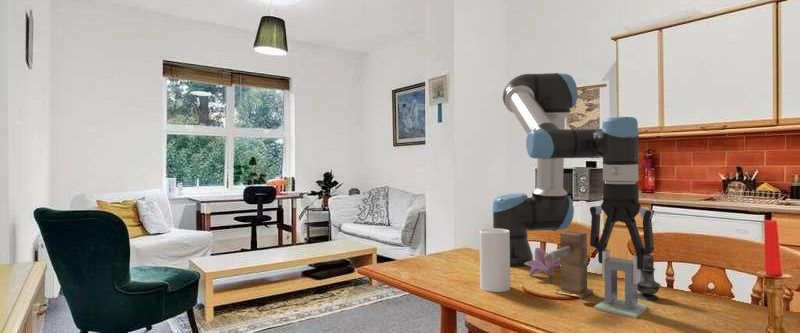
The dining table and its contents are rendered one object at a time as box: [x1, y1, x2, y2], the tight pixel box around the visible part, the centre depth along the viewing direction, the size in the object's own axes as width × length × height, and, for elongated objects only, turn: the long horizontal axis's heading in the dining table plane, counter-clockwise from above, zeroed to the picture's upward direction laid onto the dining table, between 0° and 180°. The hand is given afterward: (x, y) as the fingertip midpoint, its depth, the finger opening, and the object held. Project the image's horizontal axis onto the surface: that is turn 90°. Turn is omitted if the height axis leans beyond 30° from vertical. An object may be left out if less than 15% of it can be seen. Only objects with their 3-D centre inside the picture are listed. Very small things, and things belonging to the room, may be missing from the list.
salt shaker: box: [638, 254, 662, 302], centre depth 109 cm, size 6×6×12 cm
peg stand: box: [544, 230, 594, 300], centre depth 109 cm, size 19×7×16 cm, turn 135°
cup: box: [479, 227, 511, 293], centre depth 119 cm, size 8×8×16 cm
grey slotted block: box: [604, 256, 639, 307], centre depth 101 cm, size 4×6×10 cm, turn 45°
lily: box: [524, 247, 561, 282], centre depth 126 cm, size 12×12×10 cm
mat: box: [593, 298, 649, 319], centre depth 101 cm, size 9×9×1 cm
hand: (620, 279), depth 101 cm, fingers closed on grey slotted block, 6 cm apart
